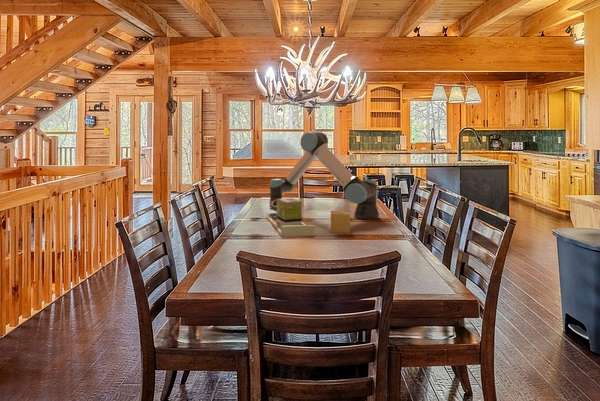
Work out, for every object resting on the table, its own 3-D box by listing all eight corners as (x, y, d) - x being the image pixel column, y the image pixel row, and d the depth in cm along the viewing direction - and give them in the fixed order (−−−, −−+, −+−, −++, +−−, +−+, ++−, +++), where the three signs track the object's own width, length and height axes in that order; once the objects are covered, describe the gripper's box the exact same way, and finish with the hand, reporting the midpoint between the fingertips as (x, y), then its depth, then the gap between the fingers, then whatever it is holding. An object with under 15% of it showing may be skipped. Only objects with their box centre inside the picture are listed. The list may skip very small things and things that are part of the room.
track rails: (296, 219, 308) (296, 216, 307) (309, 230, 270) (309, 227, 270) (268, 220, 304) (268, 217, 304) (277, 231, 267) (277, 228, 267)
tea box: (275, 224, 289) (275, 198, 287) (292, 223, 292) (292, 197, 290) (284, 229, 275) (284, 201, 273) (302, 228, 278) (302, 200, 277)
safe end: (309, 230, 270) (309, 221, 270) (315, 235, 257) (315, 225, 257) (277, 231, 267) (277, 222, 267) (281, 236, 254) (281, 226, 254)
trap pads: (293, 219, 306) (293, 219, 306) (297, 223, 294) (297, 222, 293) (271, 220, 304) (271, 219, 304) (274, 223, 291) (274, 223, 291)
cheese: (350, 229, 274) (350, 210, 273) (350, 233, 264) (350, 213, 262) (330, 229, 275) (330, 210, 274) (329, 232, 265) (330, 213, 263)
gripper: (288, 211, 321) (295, 217, 298) (267, 211, 319) (272, 217, 296) (288, 199, 320) (295, 204, 297) (267, 199, 318) (272, 204, 295)
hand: (284, 210), depth 297 cm, fingers closed
